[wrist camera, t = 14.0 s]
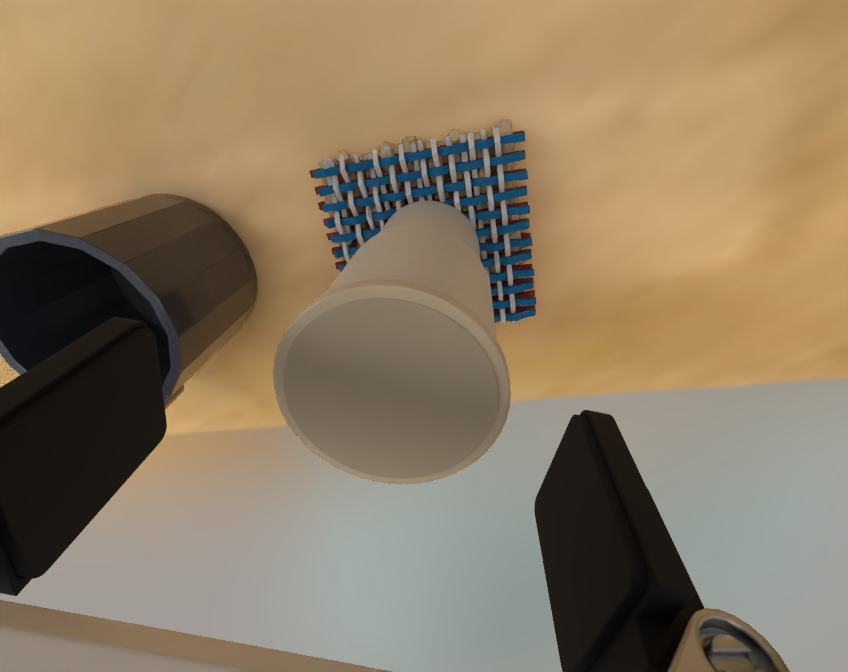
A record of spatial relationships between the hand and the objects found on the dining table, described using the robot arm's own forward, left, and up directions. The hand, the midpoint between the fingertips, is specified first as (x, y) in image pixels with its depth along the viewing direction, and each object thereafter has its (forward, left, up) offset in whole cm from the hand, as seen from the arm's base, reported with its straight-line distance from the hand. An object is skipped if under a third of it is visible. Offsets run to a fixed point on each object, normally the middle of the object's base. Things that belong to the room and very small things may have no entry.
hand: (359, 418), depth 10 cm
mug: (-14, -7, -16) cm, 22 cm away
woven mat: (0, 0, -16) cm, 16 cm away
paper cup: (+1, 0, -14) cm, 14 cm away
